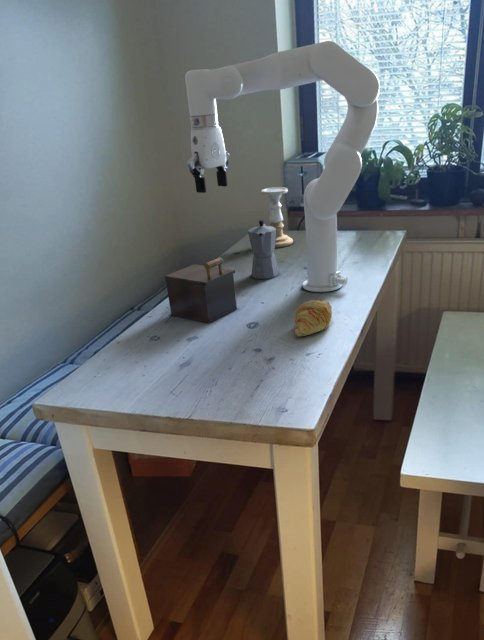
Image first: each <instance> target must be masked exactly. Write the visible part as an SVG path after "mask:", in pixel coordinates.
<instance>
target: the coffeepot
mask: <svg viewBox="0 0 484 640" xmlns="http://www.w3.org/2000/svg"><path fill="white" fill-rule="evenodd" d="M258 223H259V226H255V227H251V228H250V229H248V230H247V235H248V238H249V242H250V248H251V251H252V252H253V256H252V264H251V265H252V267H251V276H252V277H253V278H254V279H257V280H268V279H272V278H275V277H277V276H278V275H279V269H278V264H277V260H276V256H275V254H274V251H275V248H276V247H275V237H276V229H275V228H274V227H270V226H269V225H267V224H266V223H265V222H264V220H263V219H260V220H258Z"/></svg>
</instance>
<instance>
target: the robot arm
mask: <svg viewBox="0 0 484 640" xmlns="http://www.w3.org/2000/svg"><path fill="white" fill-rule="evenodd" d="M378 77H379V76H377V74H376V73H375V72H374V71H373V70H372V69H371V68H369V66H368V67H367V65H365V64H364V63H363V62H361V61H360V60H358V59H357V58H356V57H355V56H353V55H352V54H351V53H349V52H348V51H347V50H345V48H343V47H342V46H341V45H339V44H338V43H336V42H335V41H333V40H325V41H321V42H316V43H312V44H307V45H304V46H299V47H295V48H290V49H286V50H280V51H277V52H274V53H270V54H268V55H266V56H263V57H260V58H257V59H253V60H249V61H244V62H239V63H235V64H231V65H224V66H222V67H219V68H218V67H217V68H213V69H208V68H202V69H191V70H188V71H187V72H186V73H185V75H184V80H185V89H186V96H187V105H188V112H189V124H190V125H191V126H190V127H191V129H190V149H191V150H190V151H191V156H190V158H189V159H188V160H187V162H186V165H187V167H188V169H189V172H190V174H191V175H192V177H193V178H194V183H195V191H196V193H200V194H205V193H206V192H207V187H206V186H207V185H206V179H205V176H204V174H205V171H206V170H210V169H214V168H216V181H217V186H218V187H227V186H228V179H227V171H228V165H229V158H230V152H229V151H226V146H225V139H224V135H223V132H222V128H221V126H220V125H219V117H218V108H217V106H218V105H217V100H234V99H236V98H237V97H239V96H244V95H248V94H253V93H257V92H263V91H280V90H286V89H291V88H295V87H299V86H303V85H308V84H313V83H316V82H321V81H324V82H325V83H326V85H328V86H330V88H332V89H333V90H335V92H337V93H339V94H340V95H341V96H343V97H344V99H345V101H346V103H347V111H346V115H345V119H344V121H343V123H342V124H341V127H340V129H339V130H338V132H337V134H336V136H335V138H334V139H333V141H332V143H331V145H330V146H329V148H328V150H327V151H326V153H325V157H324V160H323V165H324V168H323V169H322V172H321V174H320V176H319V177H318V178H314V179H312V180H311V181H310V182H309V183H307V185H306V187H305V189H304V192H303V210H304V211H303V212H304V224H305V249H306V250H305V251H306V253H305V255H306V274H307V275H306V277H307V278H306V279H305V280H304V281H303V282H302V288H303V289H304V290H306V291H307V292H313V293H328V292H334V291H336V290H339V289H340V288H342V287H343V286H346V285H347V284H348V278H349V277H347V276H342V275H341V271H340V270H338V215H337V214H338V213H339V212H340V210H341V208H342V207H343V205H344V204H345V202H346V200H347V199H348V197H349V195H350V194H351V192H352V190H353V188H354V186H355V184H356V182H357V180H358V179H359V177H360V175H361V171H362V168H363V161H362V160H363V159H362V156H361V155H363V152H364V150H365V148H366V146H367V144H368V142H369V140H370V139H371V137H372V135H373V132H374V130H375V127H376V125H377V121H378V114H379V103H378V97H379V95H380V90H381V89H380V88H381V86H380V85H381V83H380V80H379V78H378Z"/></svg>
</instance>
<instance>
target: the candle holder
mask: <svg viewBox="0 0 484 640" xmlns="http://www.w3.org/2000/svg"><path fill="white" fill-rule="evenodd" d="M288 192H289V188H288V187H283V186H274V187H267V188H263V189H261V190H260V193H261V195H264V196H267V197H268V199H269V200H270V203H269V204H268V208H269V209H270V212H269V217H268V221H269V222H270V224H269V225H268V226H270V227H274V228H275V229H276V237H275V248H285V247H288V246H291V245H292V244H293V243H294V240H293V238H292V237H290V236H288V235H287V234H284V233H283V232H284V231H283V229H284V227H285V224H284V223H283V221H284V217H283V214H282V210H281V208H282V206H283V205H282V203H281V201H280V199H281V198H282V196H283V195H284V194H287V193H288Z"/></svg>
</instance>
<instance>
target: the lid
mask: <svg viewBox="0 0 484 640" xmlns="http://www.w3.org/2000/svg"><path fill="white" fill-rule="evenodd" d="M223 263H224V260H223V258H222V257H220V256H219V257H217V258H214V259H212V260H209V261H207V262H204V264H198V263H197V264H195V263H193V264H191V265H188V266H186V267H184V268H181V269H179V270H176V271H173V272H171V273H168V274H166V275H164V278H165V280H166V279H171V280H177V281H183V282H189V283H195V284H201V285H208V284H211V283H213V282H215V281H218V280H220V279H222V278H224V277H227V276H229V275H231V274H233V275H234V274H235V273H236V270H235V269H230V268H225V267H222V264H223Z"/></svg>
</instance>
